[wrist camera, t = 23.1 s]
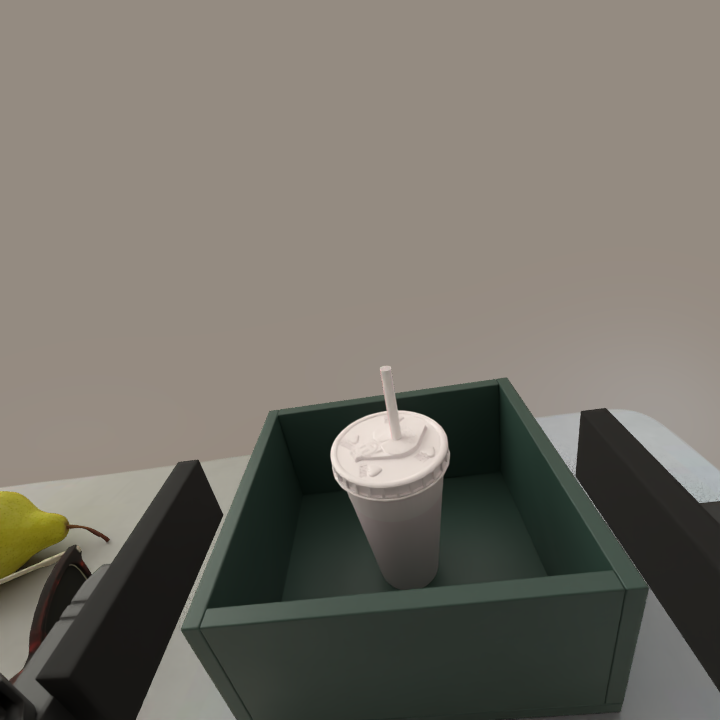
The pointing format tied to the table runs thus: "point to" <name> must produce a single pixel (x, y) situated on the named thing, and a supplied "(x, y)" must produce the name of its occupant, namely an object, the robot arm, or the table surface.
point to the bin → (425, 605)
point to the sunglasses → (54, 594)
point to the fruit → (28, 531)
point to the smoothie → (396, 486)
